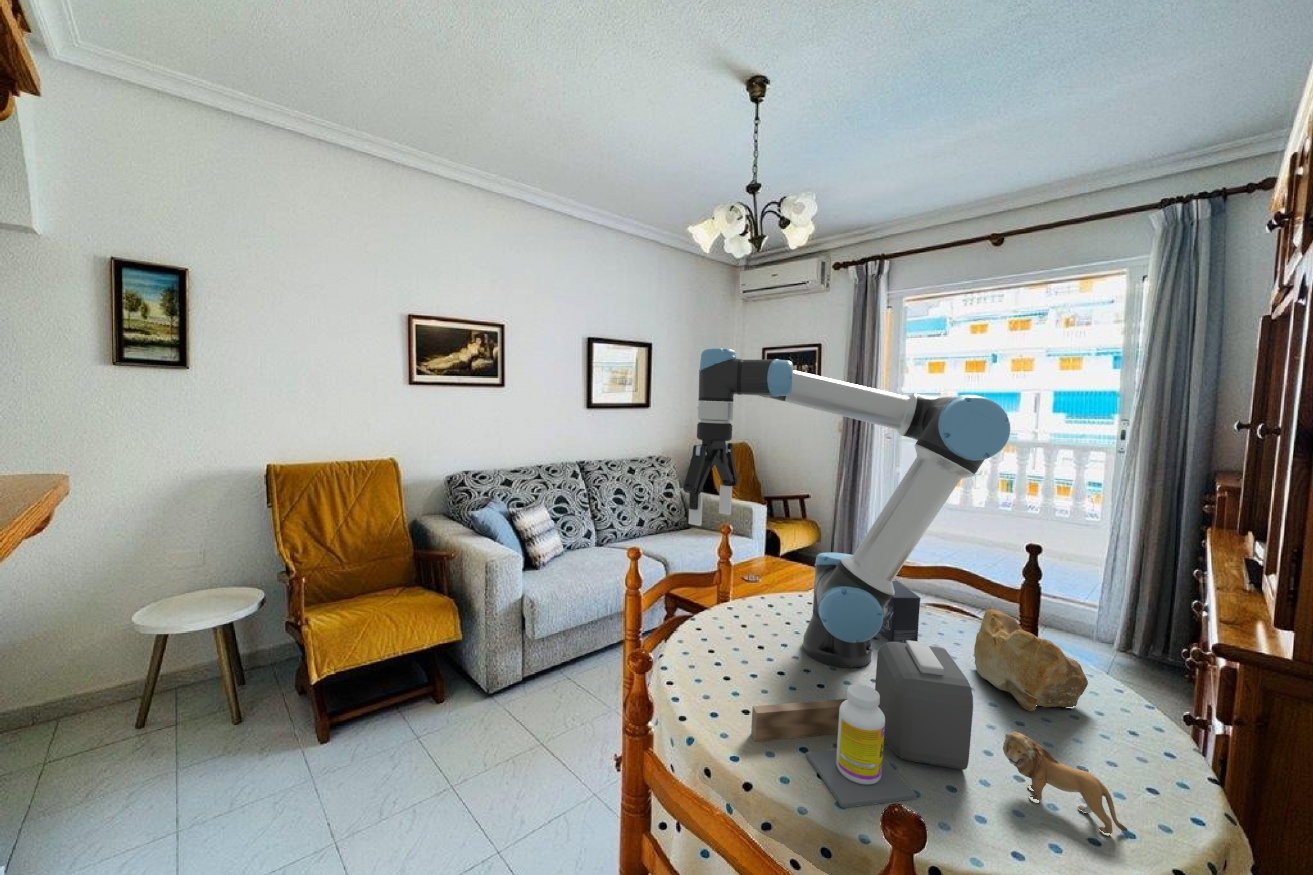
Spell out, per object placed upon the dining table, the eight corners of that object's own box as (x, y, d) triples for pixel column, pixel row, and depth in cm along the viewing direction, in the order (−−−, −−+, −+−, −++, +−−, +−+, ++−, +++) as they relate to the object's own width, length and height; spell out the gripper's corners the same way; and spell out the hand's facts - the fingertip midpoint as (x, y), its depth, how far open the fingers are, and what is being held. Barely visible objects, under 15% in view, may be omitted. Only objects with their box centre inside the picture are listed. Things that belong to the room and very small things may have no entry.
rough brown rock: (1117, 743, 92) (1132, 662, 92) (1015, 721, 95) (1028, 642, 94) (1044, 679, 115) (1055, 613, 114) (963, 663, 118) (974, 599, 117)
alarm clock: (967, 778, 81) (975, 682, 80) (889, 765, 83) (896, 671, 82) (934, 716, 97) (940, 636, 96) (870, 707, 99) (875, 628, 98)
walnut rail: (856, 724, 94) (857, 697, 93) (862, 731, 92) (864, 704, 91) (751, 733, 90) (752, 706, 89) (755, 741, 88) (756, 713, 88)
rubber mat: (872, 748, 87) (872, 745, 87) (916, 798, 76) (916, 794, 76) (806, 755, 85) (806, 751, 85) (842, 807, 74) (842, 803, 74)
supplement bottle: (885, 790, 77) (891, 707, 76) (839, 782, 78) (844, 700, 77) (876, 760, 83) (881, 683, 82) (833, 753, 85) (837, 677, 84)
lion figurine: (998, 794, 78) (1003, 737, 77) (1000, 774, 82) (1005, 720, 81) (1130, 846, 69) (1137, 783, 69) (1124, 821, 73) (1130, 761, 73)
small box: (867, 621, 139) (870, 577, 138) (892, 621, 139) (895, 578, 138) (890, 644, 126) (894, 596, 125) (918, 645, 126) (921, 597, 125)
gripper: (725, 420, 124) (721, 507, 125) (668, 421, 103) (664, 526, 105) (754, 421, 120) (750, 512, 121) (701, 423, 99) (697, 532, 100)
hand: (710, 519), depth 113 cm, fingers open, 13 cm apart
